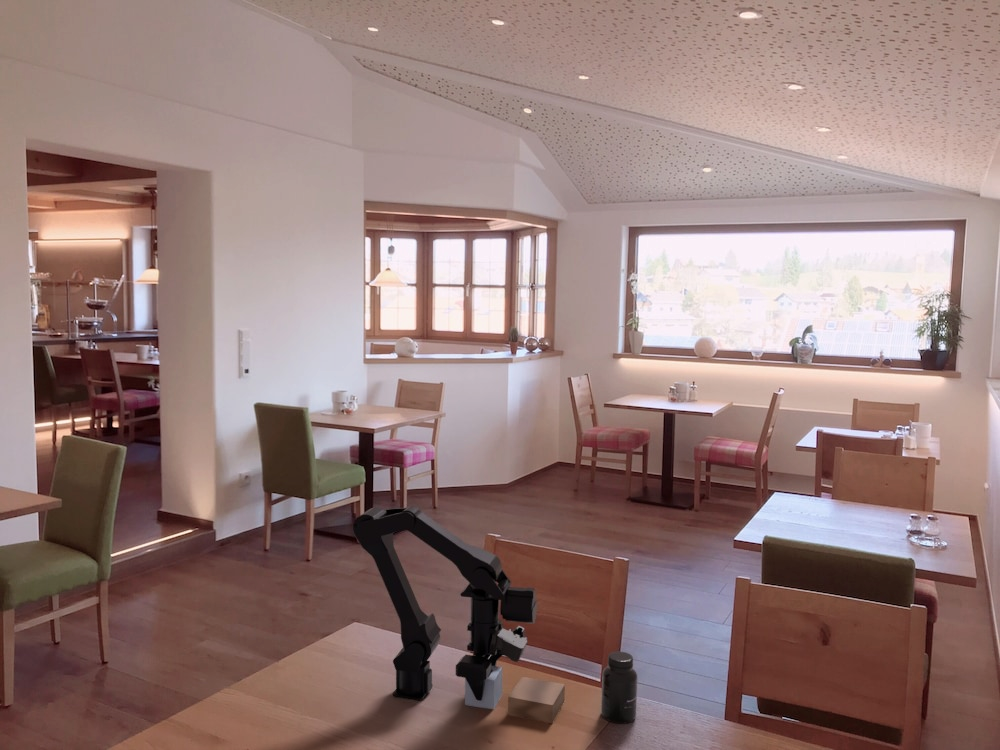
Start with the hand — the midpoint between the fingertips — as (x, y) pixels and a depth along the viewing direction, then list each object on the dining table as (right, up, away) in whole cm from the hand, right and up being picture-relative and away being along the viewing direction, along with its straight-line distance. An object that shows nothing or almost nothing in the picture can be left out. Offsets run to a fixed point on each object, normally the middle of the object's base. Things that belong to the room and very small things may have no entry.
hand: (483, 692), depth 162 cm
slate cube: (0, -2, 0) cm, 2 cm away
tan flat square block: (+11, -2, -3) cm, 11 cm away
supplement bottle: (+27, -3, -5) cm, 27 cm away
